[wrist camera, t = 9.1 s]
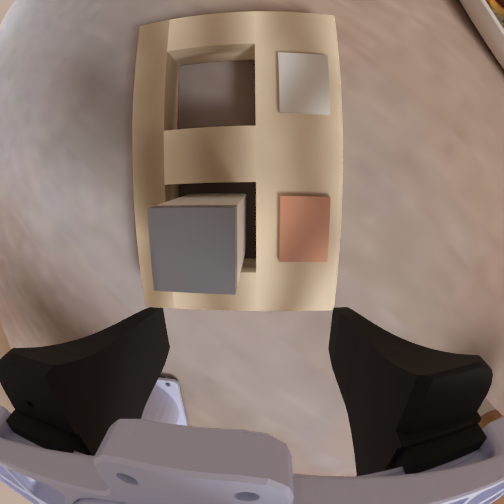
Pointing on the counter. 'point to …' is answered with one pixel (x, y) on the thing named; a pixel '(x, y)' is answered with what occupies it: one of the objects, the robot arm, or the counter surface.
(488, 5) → the bowl
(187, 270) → the plug
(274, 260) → the socket block
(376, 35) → the counter surface
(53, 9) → the counter surface
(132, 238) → the counter surface
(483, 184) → the counter surface
